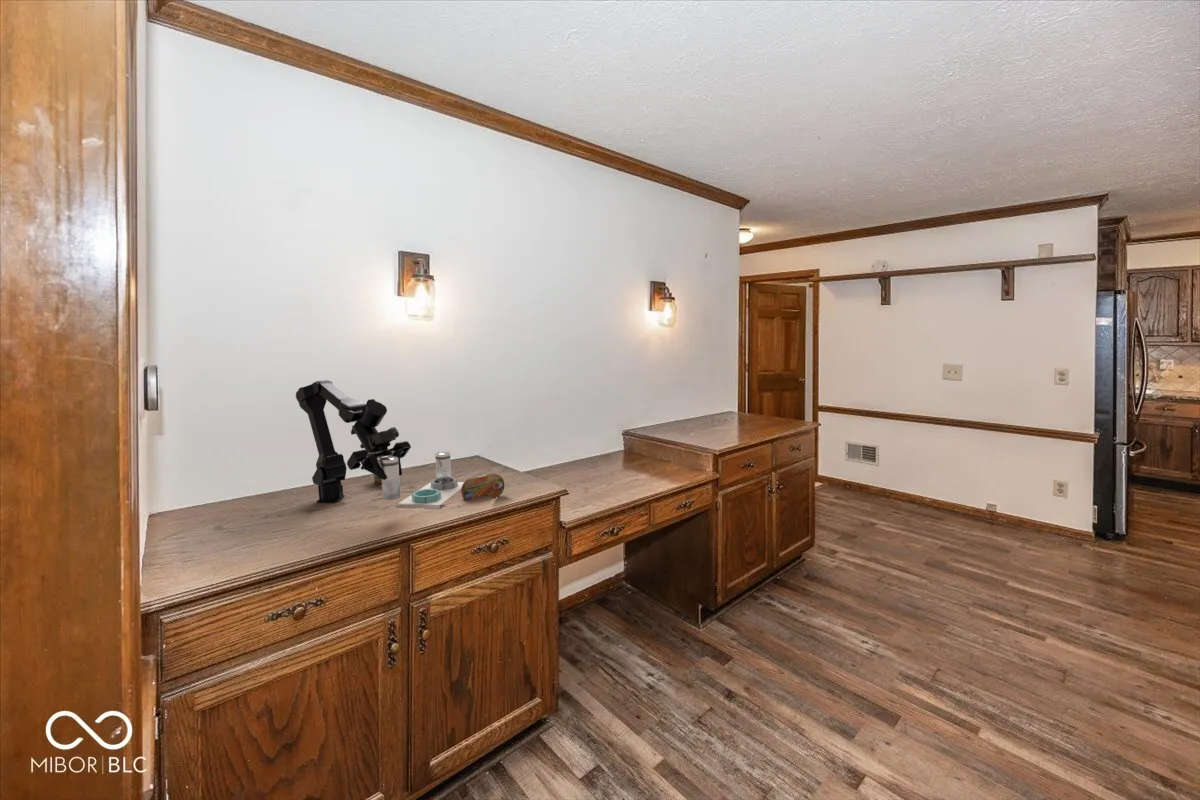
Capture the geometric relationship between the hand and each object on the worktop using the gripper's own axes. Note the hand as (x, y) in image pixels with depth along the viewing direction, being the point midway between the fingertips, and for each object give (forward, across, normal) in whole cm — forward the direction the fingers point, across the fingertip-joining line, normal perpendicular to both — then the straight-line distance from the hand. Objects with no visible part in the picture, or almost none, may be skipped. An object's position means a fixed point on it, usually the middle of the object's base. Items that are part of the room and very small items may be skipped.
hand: (393, 476), depth 159 cm
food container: (-16, +20, +36) cm, 44 cm away
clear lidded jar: (+1, +28, +16) cm, 32 cm away
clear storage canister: (+4, 0, +6) cm, 7 cm away
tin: (+16, +28, +4) cm, 32 cm away
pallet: (+4, +22, +15) cm, 27 cm away
